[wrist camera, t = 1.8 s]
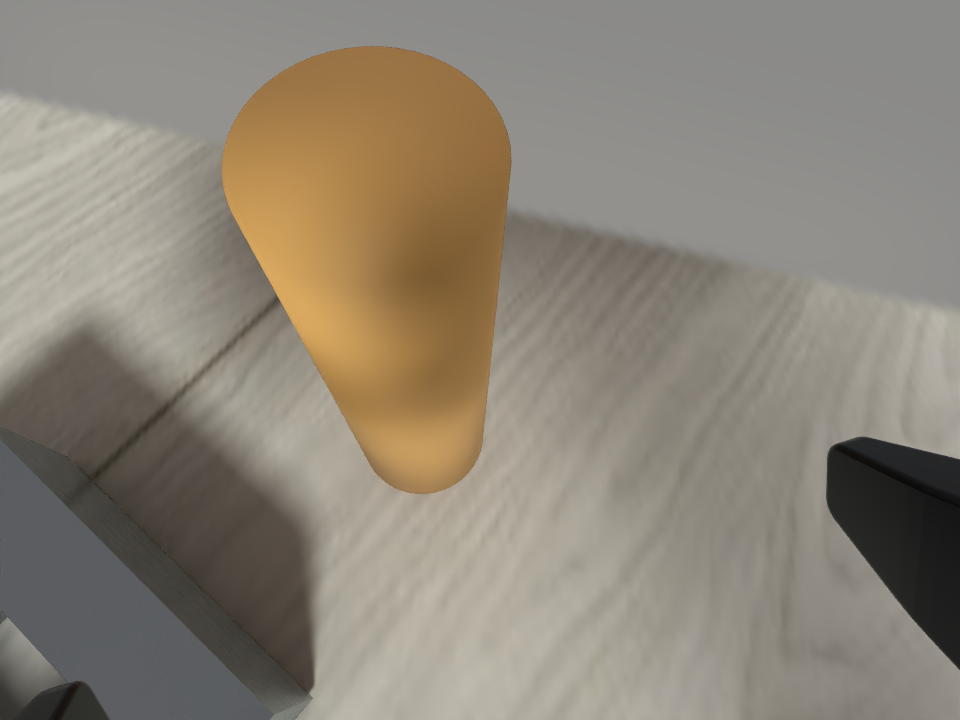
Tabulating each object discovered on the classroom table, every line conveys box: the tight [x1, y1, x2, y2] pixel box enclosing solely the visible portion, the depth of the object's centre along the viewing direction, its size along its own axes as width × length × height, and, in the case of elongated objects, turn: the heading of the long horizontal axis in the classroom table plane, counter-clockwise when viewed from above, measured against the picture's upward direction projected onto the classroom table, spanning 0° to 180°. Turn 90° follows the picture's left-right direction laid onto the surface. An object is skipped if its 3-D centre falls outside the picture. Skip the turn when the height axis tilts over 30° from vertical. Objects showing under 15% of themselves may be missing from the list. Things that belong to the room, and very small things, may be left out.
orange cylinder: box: [222, 46, 511, 494], centre depth 15 cm, size 4×4×13 cm
